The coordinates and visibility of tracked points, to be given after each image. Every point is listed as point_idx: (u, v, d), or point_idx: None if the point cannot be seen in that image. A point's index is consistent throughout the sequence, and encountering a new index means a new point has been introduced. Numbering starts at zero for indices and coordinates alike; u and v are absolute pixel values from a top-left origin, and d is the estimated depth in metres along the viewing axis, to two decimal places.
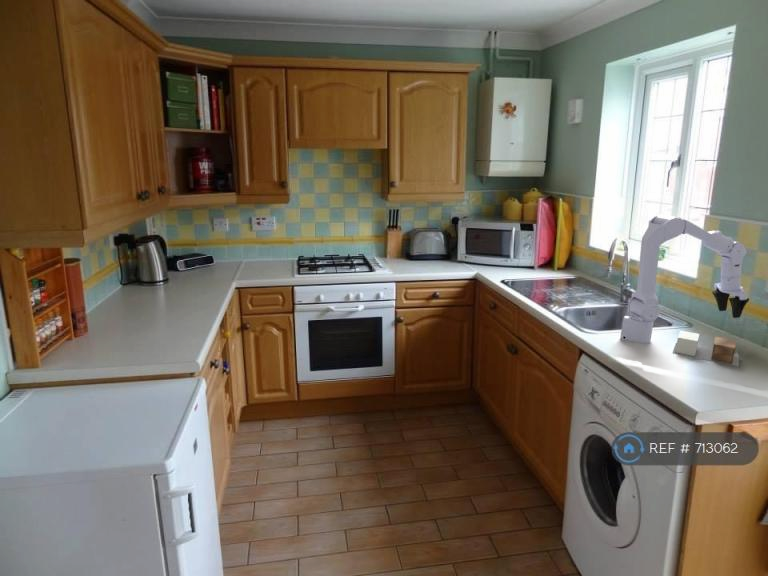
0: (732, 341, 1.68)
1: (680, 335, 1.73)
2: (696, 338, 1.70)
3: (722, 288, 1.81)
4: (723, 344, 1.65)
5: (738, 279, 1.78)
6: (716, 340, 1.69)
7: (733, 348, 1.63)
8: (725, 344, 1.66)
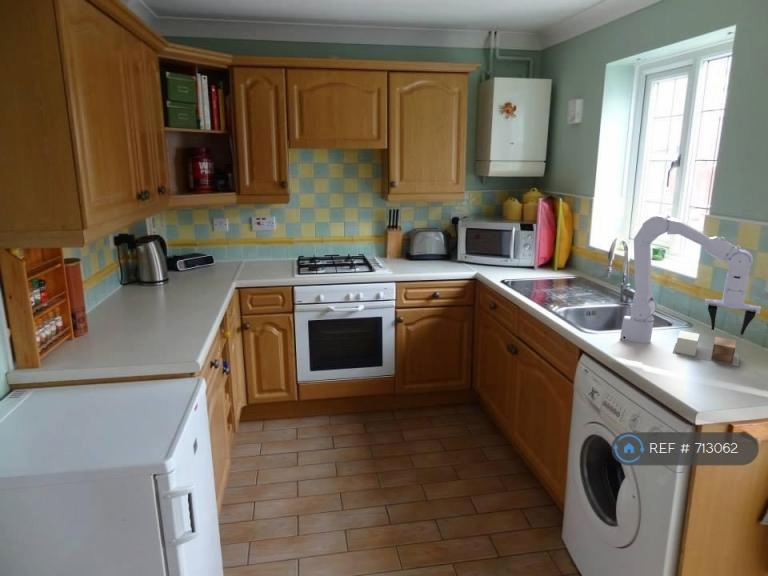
0: (732, 341, 1.68)
1: (680, 335, 1.73)
2: (696, 338, 1.70)
3: None
4: (723, 344, 1.65)
5: (724, 290, 1.64)
6: (716, 340, 1.69)
7: (733, 348, 1.63)
8: (725, 344, 1.66)
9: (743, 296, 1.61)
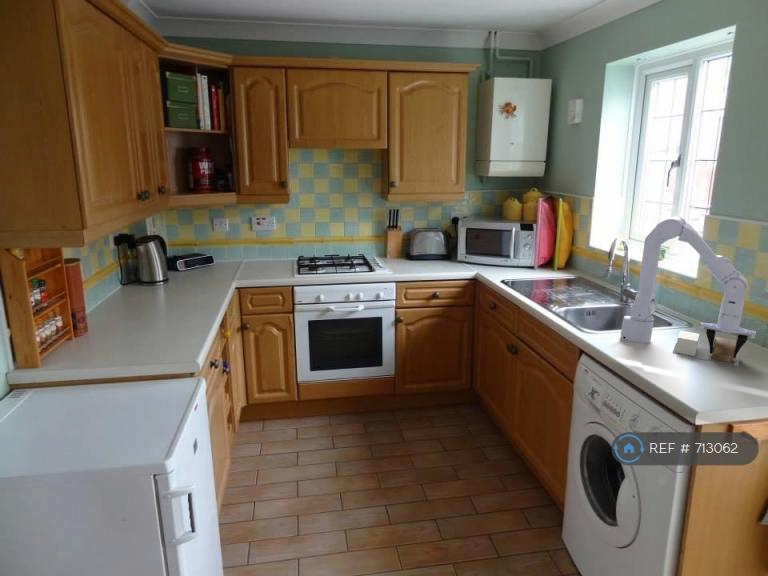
0: (732, 341, 1.68)
1: (680, 335, 1.73)
2: (696, 338, 1.70)
3: None
4: (723, 344, 1.65)
5: (719, 315, 1.66)
6: (716, 340, 1.69)
7: (733, 348, 1.63)
8: (725, 344, 1.66)
9: (738, 321, 1.63)
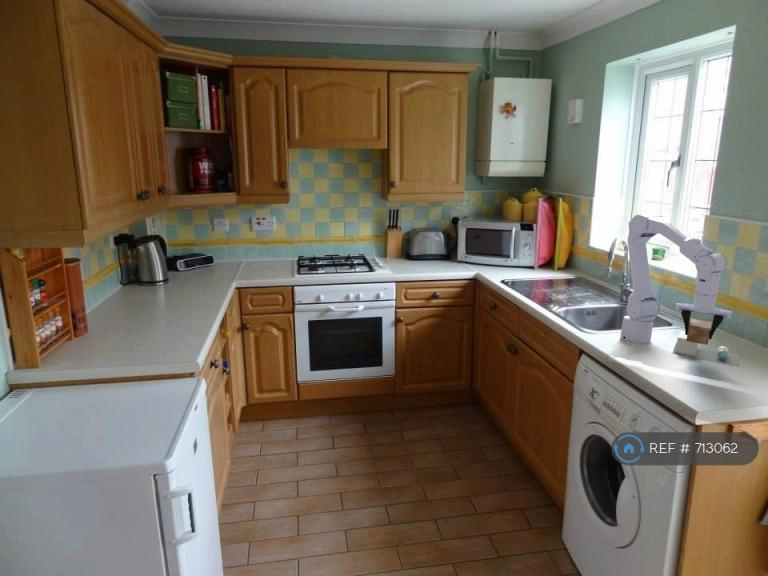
0: (708, 323, 1.64)
1: (680, 335, 1.73)
2: None
3: None
4: (698, 325, 1.61)
5: (695, 294, 1.61)
6: (692, 322, 1.64)
7: (708, 329, 1.58)
8: (701, 325, 1.61)
9: (714, 300, 1.58)
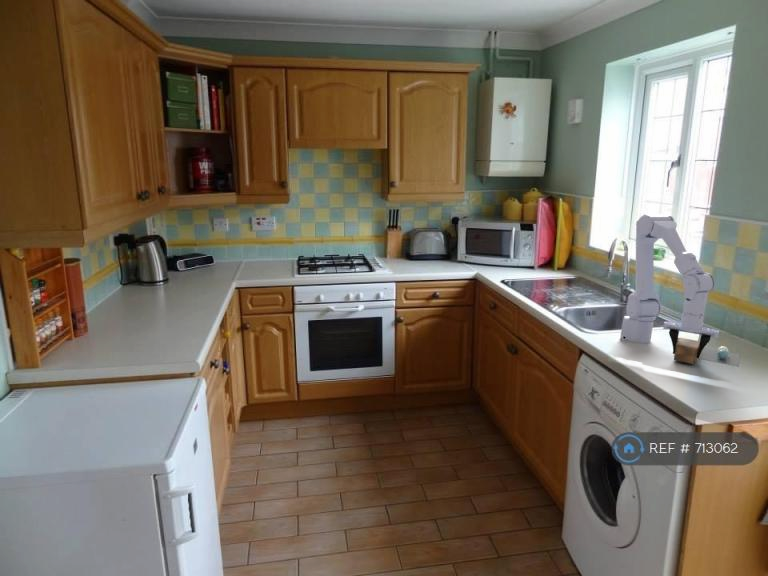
0: (696, 342, 1.64)
1: (680, 335, 1.73)
2: (696, 338, 1.70)
3: None
4: (686, 344, 1.61)
5: (682, 314, 1.61)
6: (679, 341, 1.65)
7: (695, 348, 1.59)
8: (688, 344, 1.62)
9: (701, 320, 1.58)
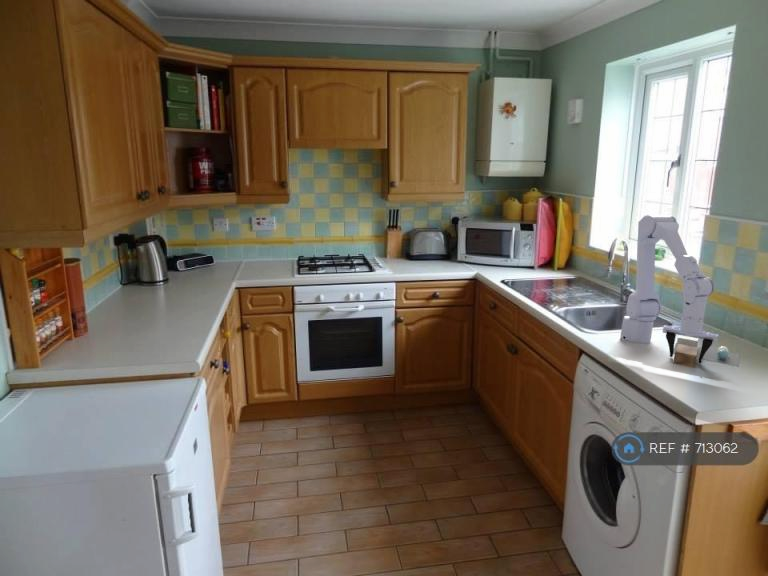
0: (694, 348, 1.64)
1: (680, 335, 1.73)
2: (696, 338, 1.70)
3: None
4: (684, 352, 1.61)
5: (682, 317, 1.62)
6: (678, 347, 1.65)
7: (694, 356, 1.59)
8: (687, 351, 1.62)
9: (700, 324, 1.59)
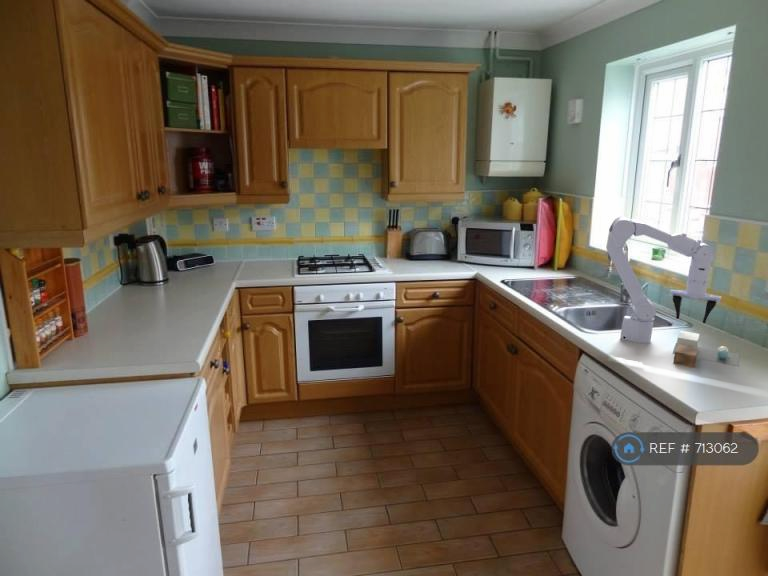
0: (694, 348, 1.64)
1: (680, 335, 1.73)
2: (696, 338, 1.70)
3: None
4: (684, 352, 1.61)
5: (687, 281, 1.74)
6: (678, 347, 1.65)
7: (694, 356, 1.59)
8: (687, 351, 1.62)
9: (704, 286, 1.71)
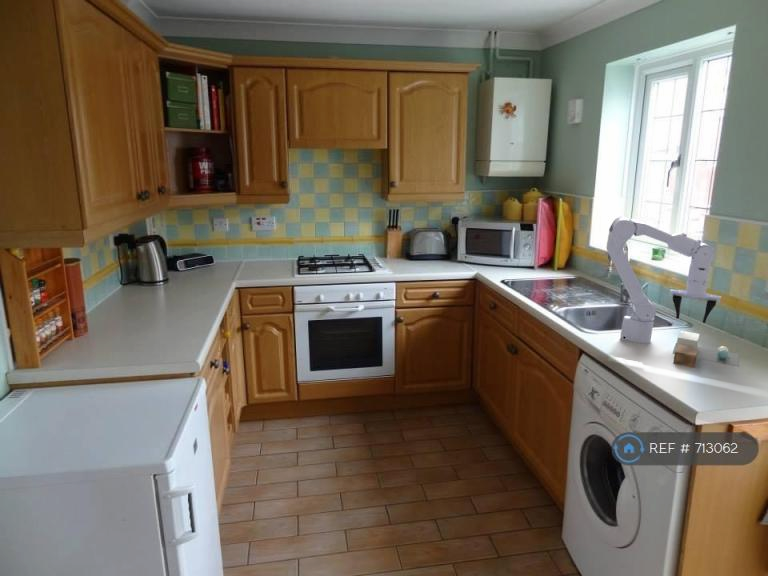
0: (694, 348, 1.64)
1: (680, 335, 1.73)
2: (696, 338, 1.70)
3: None
4: (684, 352, 1.61)
5: (687, 281, 1.75)
6: (678, 347, 1.65)
7: (694, 356, 1.59)
8: (687, 351, 1.62)
9: (704, 286, 1.72)
